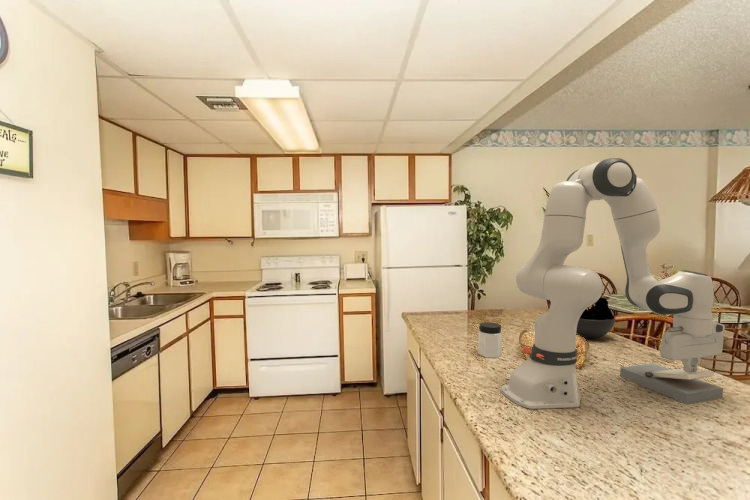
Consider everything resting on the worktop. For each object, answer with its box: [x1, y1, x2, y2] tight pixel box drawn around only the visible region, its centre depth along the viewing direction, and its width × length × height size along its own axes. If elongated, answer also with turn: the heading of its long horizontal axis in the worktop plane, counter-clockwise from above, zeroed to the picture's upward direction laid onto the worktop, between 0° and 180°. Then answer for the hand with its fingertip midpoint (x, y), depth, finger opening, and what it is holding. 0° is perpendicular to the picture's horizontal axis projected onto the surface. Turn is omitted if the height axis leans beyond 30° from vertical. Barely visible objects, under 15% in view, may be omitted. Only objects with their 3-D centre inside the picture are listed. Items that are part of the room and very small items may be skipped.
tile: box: [652, 368, 715, 380], centre depth 113 cm, size 10×11×1 cm
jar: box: [477, 321, 503, 359], centre depth 147 cm, size 9×8×12 cm
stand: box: [619, 363, 724, 405], centre depth 117 cm, size 14×21×5 cm, turn 15°
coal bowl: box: [576, 297, 616, 339], centre depth 171 cm, size 20×20×19 cm
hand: (690, 371), depth 111 cm, fingers closed, pressing on tile
